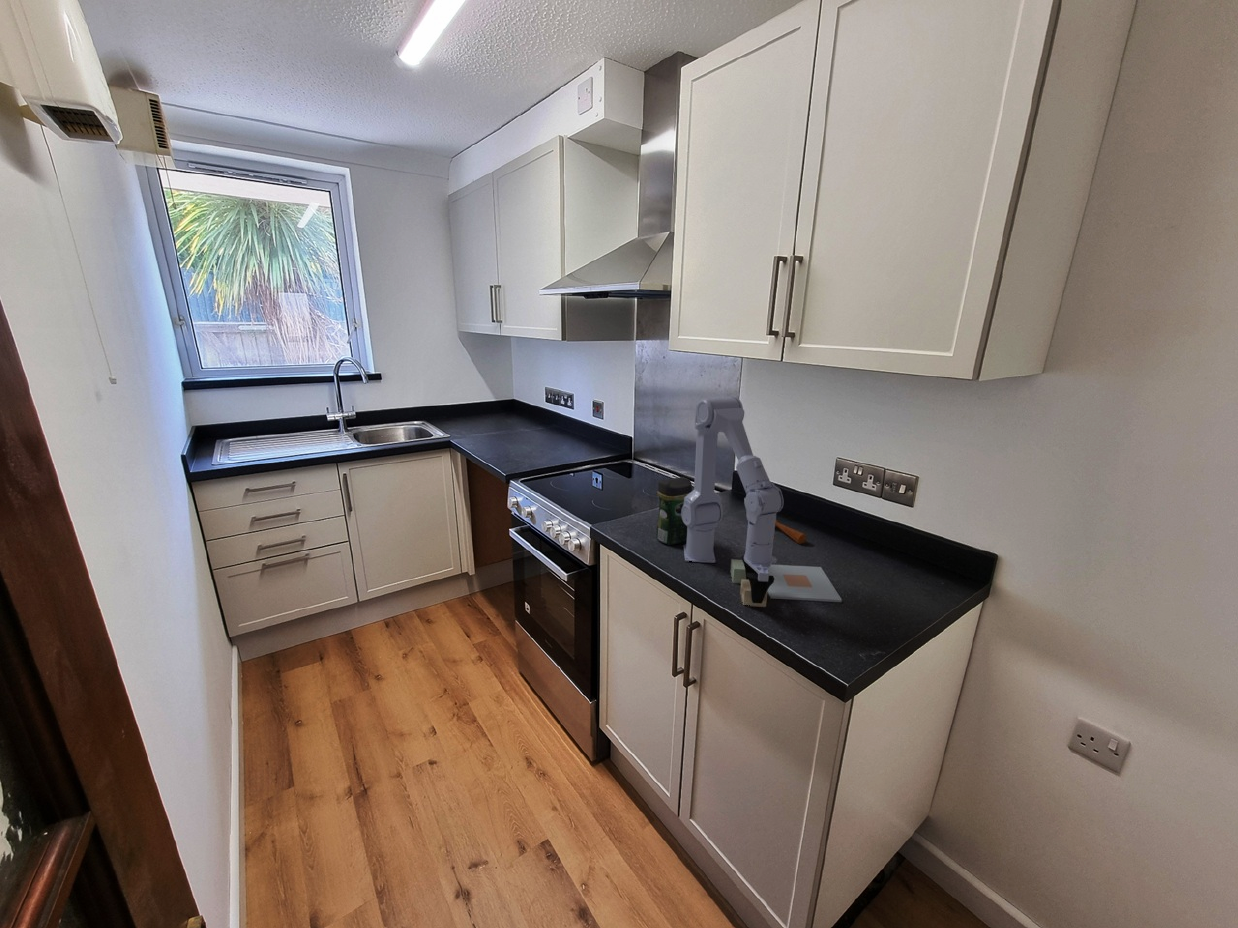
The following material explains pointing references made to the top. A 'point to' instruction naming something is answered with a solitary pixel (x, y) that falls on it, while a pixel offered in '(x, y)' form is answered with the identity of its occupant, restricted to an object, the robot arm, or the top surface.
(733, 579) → the sage block
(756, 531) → the robot arm
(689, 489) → the coffee jar
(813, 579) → the baseplate
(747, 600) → the beech block
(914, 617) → the top surface
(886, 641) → the top surface
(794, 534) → the maraca
